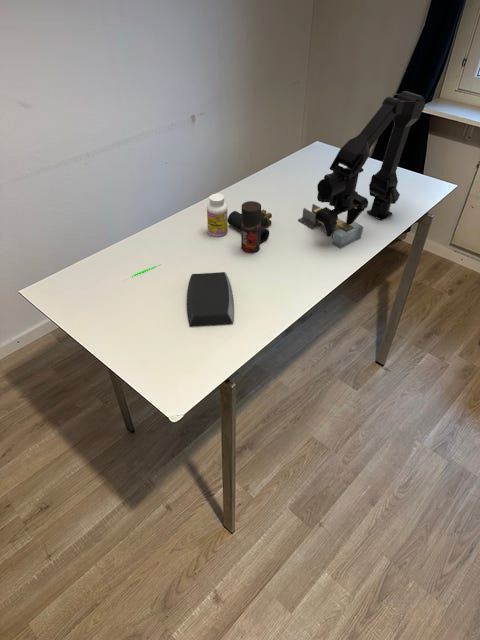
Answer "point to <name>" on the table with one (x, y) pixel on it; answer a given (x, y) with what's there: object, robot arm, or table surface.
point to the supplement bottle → (217, 215)
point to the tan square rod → (339, 224)
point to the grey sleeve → (310, 218)
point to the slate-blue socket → (347, 235)
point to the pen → (144, 271)
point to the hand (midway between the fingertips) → (338, 231)
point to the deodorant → (250, 226)
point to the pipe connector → (235, 221)
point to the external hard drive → (210, 300)
